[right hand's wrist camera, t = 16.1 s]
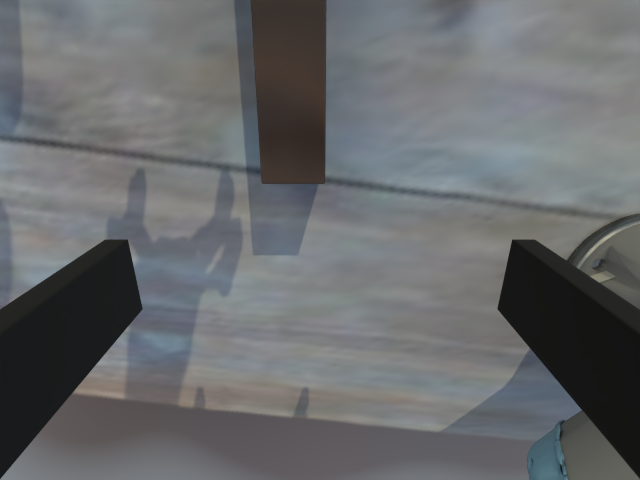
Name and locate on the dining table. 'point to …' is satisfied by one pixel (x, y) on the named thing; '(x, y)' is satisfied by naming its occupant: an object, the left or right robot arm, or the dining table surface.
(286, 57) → the walnut beam
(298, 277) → the dining table surface
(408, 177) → the dining table surface
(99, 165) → the dining table surface
